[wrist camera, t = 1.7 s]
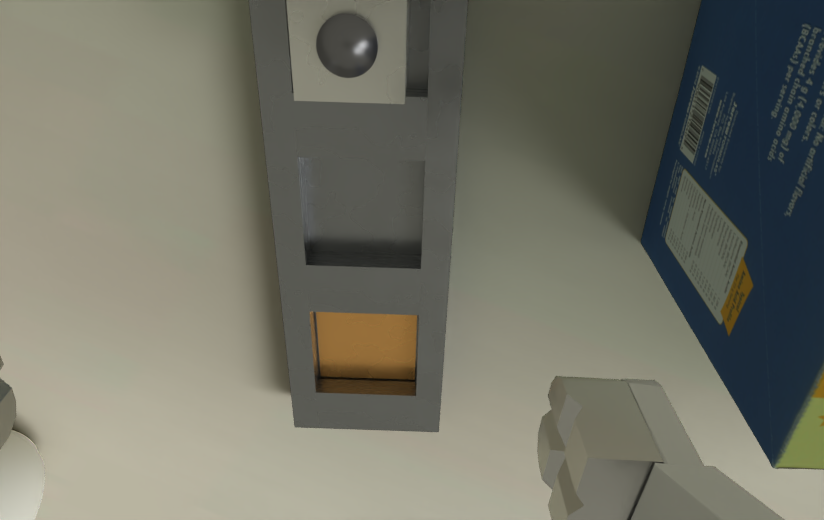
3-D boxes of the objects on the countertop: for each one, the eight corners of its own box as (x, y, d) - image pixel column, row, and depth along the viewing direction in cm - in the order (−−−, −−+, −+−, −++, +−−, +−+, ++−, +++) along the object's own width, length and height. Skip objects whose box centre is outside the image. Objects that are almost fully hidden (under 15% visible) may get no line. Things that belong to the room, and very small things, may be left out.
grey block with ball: (410, -35, 26) (406, -16, 21) (408, 67, 28) (404, 106, 23) (311, -38, 26) (283, -20, 21) (316, 64, 28) (292, 103, 23)
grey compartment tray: (473, -144, 24) (478, -146, 22) (438, 403, 40) (438, 432, 38) (249, -150, 24) (232, -154, 22) (301, 398, 40) (294, 427, 38)
